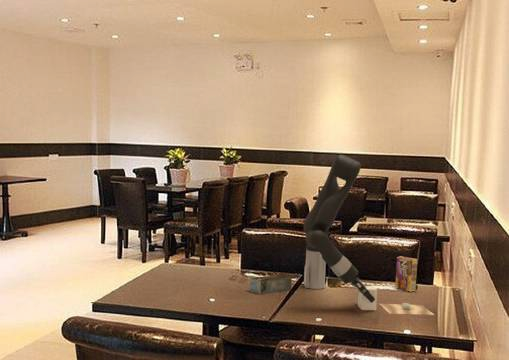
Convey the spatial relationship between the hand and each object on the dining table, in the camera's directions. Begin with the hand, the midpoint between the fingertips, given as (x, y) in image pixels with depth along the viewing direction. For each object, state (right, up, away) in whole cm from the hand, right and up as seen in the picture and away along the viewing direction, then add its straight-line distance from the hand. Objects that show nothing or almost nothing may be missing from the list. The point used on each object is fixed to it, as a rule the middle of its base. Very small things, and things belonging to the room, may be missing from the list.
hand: (370, 298), depth 234 cm
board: (+14, -5, +1) cm, 15 cm away
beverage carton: (-39, -2, +27) cm, 48 cm away
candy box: (+24, -4, +40) cm, 47 cm away
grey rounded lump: (+14, -5, +1) cm, 15 cm away
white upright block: (-2, -5, 0) cm, 5 cm away
